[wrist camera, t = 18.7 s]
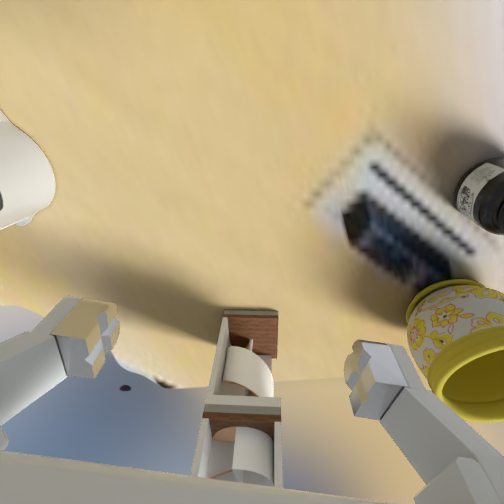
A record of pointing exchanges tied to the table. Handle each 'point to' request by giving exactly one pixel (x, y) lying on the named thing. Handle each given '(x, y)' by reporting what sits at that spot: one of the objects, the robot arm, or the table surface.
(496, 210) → the ink bottle
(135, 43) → the table surface
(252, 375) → the rack with curved panels
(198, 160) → the table surface
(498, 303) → the flowerpot
